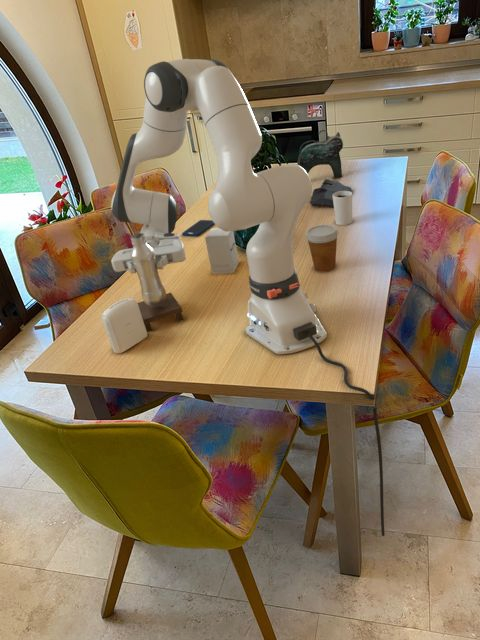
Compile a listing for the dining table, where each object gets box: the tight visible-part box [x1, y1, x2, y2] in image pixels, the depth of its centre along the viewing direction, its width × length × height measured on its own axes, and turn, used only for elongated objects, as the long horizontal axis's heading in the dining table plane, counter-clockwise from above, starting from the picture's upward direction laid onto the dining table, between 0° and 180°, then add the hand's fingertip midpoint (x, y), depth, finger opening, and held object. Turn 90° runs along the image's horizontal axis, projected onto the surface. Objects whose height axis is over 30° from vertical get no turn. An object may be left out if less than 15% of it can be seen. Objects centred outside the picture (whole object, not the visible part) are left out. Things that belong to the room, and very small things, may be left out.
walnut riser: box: [137, 292, 184, 333], centre depth 157 cm, size 11×11×4 cm
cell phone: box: [181, 219, 215, 237], centre depth 213 cm, size 7×14×1 cm, turn 153°
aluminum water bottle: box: [130, 232, 167, 306], centre depth 151 cm, size 6×7×20 cm
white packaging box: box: [204, 227, 240, 275], centre depth 176 cm, size 7×7×13 cm
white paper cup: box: [333, 191, 353, 226], centre depth 196 cm, size 7×7×10 cm
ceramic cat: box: [296, 129, 344, 179], centre depth 237 cm, size 20×6×20 cm, turn 94°
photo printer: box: [100, 297, 148, 354], centre depth 146 cm, size 10×4×12 cm, turn 139°
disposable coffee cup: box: [305, 224, 339, 273], centre depth 167 cm, size 10×10×12 cm
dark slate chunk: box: [309, 178, 352, 208], centre depth 219 cm, size 15×22×5 cm
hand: (146, 268), depth 149 cm, fingers closed on aluminum water bottle, 6 cm apart
